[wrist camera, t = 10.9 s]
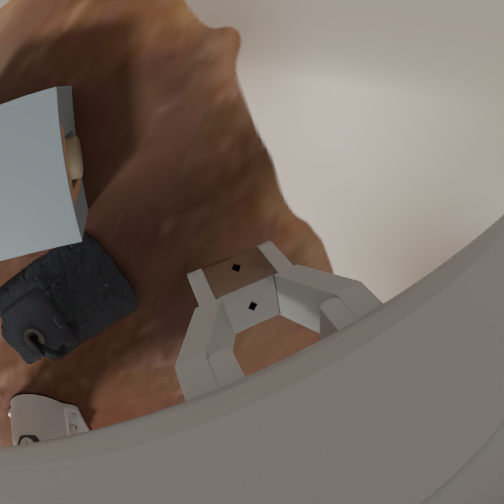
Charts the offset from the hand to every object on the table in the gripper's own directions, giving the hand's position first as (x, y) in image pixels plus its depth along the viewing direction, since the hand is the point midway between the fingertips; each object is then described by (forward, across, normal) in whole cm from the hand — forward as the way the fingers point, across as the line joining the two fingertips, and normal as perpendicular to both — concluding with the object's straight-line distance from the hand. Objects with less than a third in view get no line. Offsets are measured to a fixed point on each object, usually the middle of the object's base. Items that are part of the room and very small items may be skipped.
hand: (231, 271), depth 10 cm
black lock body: (+25, +20, +15) cm, 35 cm away
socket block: (+24, +14, -4) cm, 28 cm away
